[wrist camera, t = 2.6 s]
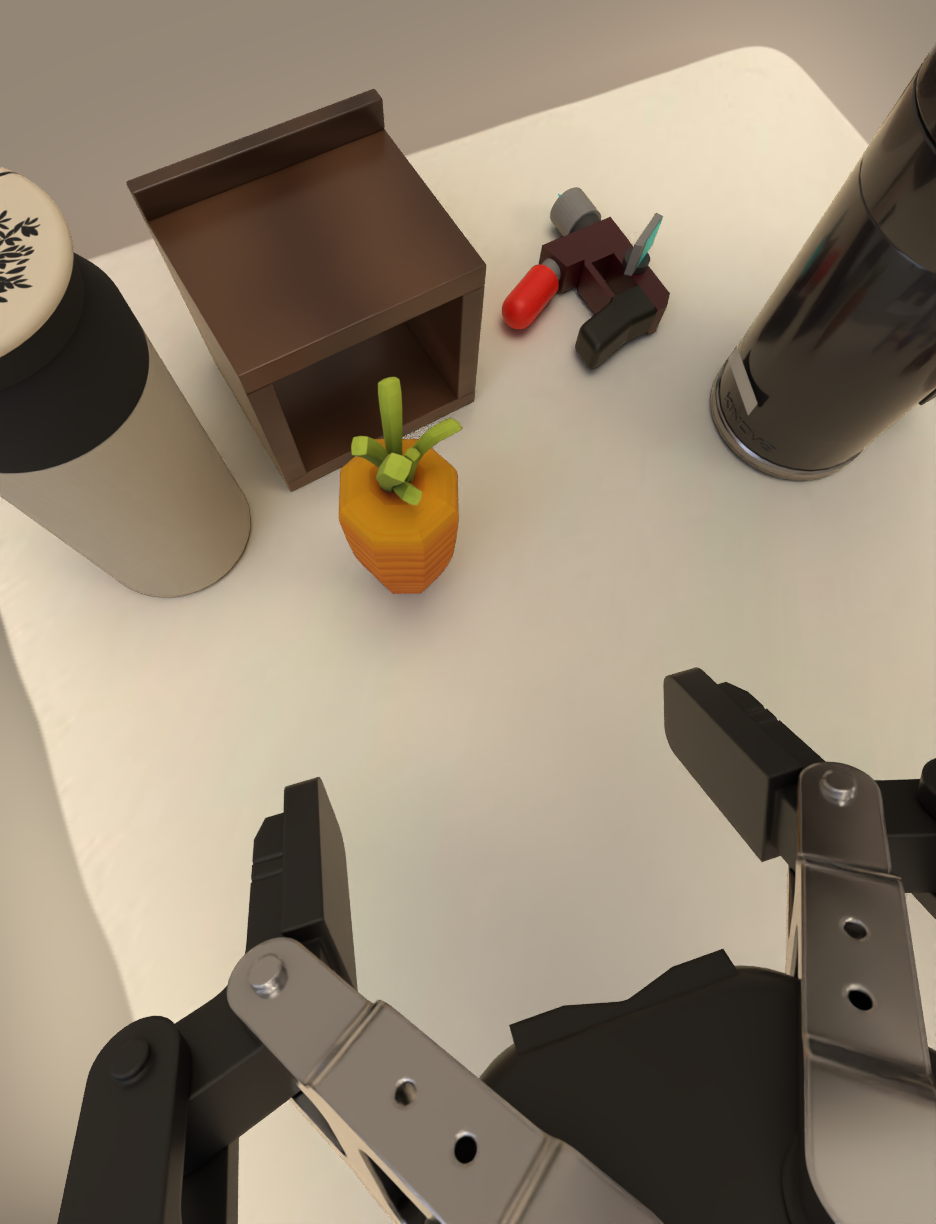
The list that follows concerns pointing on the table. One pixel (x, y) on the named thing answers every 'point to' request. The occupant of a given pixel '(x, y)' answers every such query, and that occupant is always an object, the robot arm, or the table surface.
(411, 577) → the carrot
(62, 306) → the travel mug
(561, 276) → the toy gun
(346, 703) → the table surface
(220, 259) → the shelf
